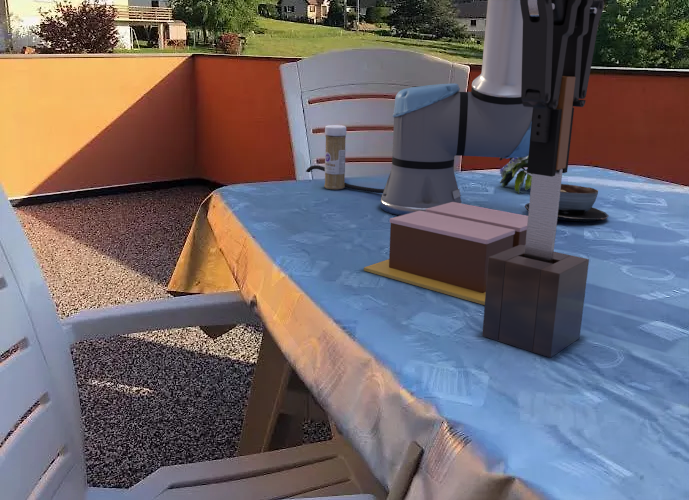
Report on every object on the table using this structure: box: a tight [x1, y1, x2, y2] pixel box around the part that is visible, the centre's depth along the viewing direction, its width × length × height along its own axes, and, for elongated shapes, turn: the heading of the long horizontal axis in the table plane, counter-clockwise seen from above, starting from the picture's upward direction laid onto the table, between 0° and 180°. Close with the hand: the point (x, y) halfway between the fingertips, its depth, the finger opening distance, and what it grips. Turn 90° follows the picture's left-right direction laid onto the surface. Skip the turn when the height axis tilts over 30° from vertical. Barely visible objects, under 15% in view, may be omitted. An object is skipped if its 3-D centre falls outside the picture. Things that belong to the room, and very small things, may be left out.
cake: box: [363, 202, 528, 306], centre depth 98 cm, size 20×20×8 cm
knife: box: [524, 76, 575, 264], centre depth 72 cm, size 3×2×21 cm, turn 48°
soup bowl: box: [524, 171, 609, 222], centre depth 131 cm, size 15×16×7 cm
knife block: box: [481, 245, 590, 359], centre depth 76 cm, size 8×7×9 cm
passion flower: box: [498, 156, 532, 195], centre depth 156 cm, size 11×11×12 cm
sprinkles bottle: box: [323, 124, 347, 191], centre depth 152 cm, size 5×5×14 cm
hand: (547, 172), depth 72 cm, fingers closed on knife, 2 cm apart
